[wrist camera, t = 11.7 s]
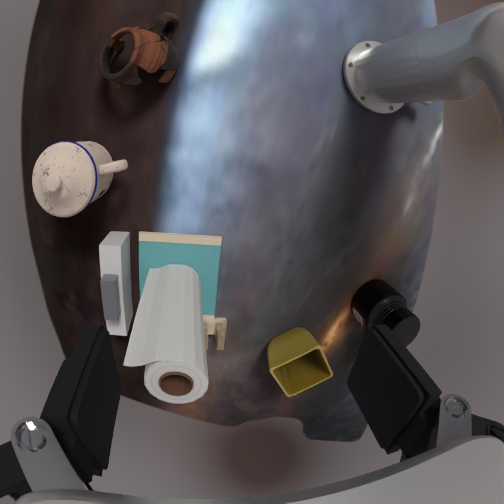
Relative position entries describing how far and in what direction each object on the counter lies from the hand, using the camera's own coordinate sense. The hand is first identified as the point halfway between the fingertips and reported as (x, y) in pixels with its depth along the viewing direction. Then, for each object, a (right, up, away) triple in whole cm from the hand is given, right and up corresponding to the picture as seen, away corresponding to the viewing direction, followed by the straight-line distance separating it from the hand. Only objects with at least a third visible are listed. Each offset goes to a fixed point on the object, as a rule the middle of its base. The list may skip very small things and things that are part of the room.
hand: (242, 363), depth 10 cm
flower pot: (+7, -13, +43) cm, 46 cm away
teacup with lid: (-22, +15, +27) cm, 38 cm away
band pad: (-11, 0, +35) cm, 36 cm away
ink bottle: (+23, -5, +43) cm, 49 cm away
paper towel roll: (-11, 0, +34) cm, 36 cm away
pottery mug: (-14, +31, +22) cm, 40 cm away
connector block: (-20, 0, +33) cm, 38 cm away
